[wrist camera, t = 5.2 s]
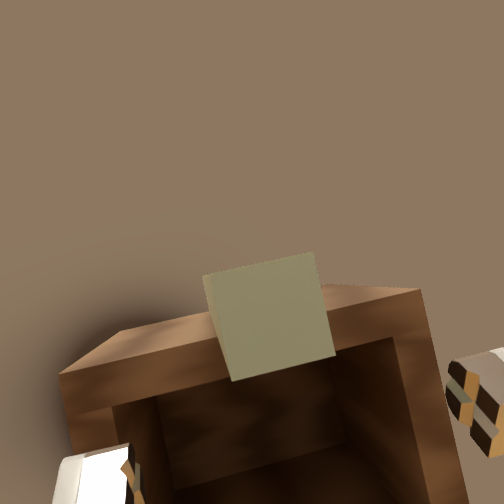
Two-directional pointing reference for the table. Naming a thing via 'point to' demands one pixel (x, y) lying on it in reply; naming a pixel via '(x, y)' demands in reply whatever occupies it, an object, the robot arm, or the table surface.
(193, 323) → the wooden pedestal block
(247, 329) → the stick
